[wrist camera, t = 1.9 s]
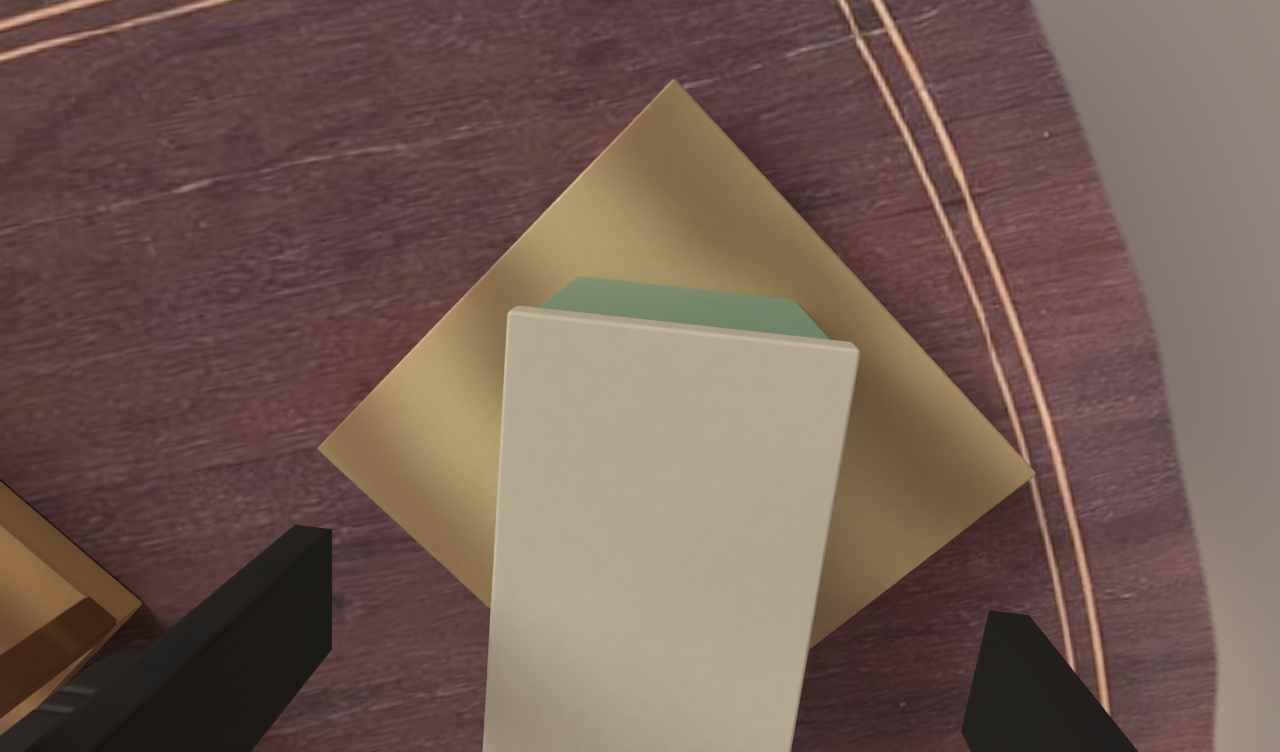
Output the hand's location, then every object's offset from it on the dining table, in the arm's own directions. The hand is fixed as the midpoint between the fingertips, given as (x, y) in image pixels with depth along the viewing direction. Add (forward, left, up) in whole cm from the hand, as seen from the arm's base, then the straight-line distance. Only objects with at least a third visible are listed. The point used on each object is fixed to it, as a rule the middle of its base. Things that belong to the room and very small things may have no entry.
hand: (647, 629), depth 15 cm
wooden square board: (0, 0, -12) cm, 12 cm away
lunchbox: (0, 0, -9) cm, 9 cm away
